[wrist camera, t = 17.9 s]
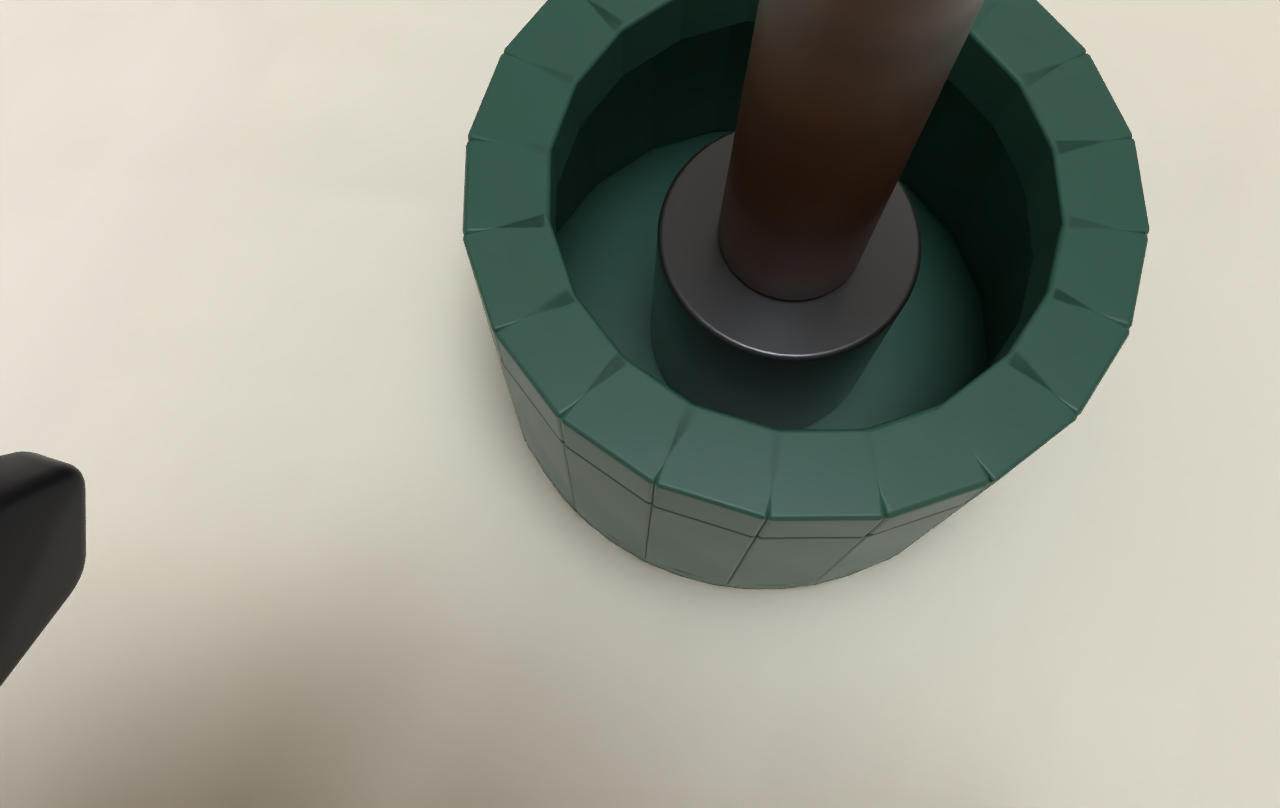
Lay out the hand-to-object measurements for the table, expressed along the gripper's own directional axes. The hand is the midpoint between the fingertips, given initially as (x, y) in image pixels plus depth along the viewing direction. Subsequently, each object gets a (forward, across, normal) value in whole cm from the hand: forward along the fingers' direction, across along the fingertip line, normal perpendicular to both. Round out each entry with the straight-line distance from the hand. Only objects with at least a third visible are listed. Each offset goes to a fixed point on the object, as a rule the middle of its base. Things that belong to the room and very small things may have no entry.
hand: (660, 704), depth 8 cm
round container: (+13, 0, +3) cm, 14 cm away
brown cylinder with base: (+13, 0, +2) cm, 13 cm away
